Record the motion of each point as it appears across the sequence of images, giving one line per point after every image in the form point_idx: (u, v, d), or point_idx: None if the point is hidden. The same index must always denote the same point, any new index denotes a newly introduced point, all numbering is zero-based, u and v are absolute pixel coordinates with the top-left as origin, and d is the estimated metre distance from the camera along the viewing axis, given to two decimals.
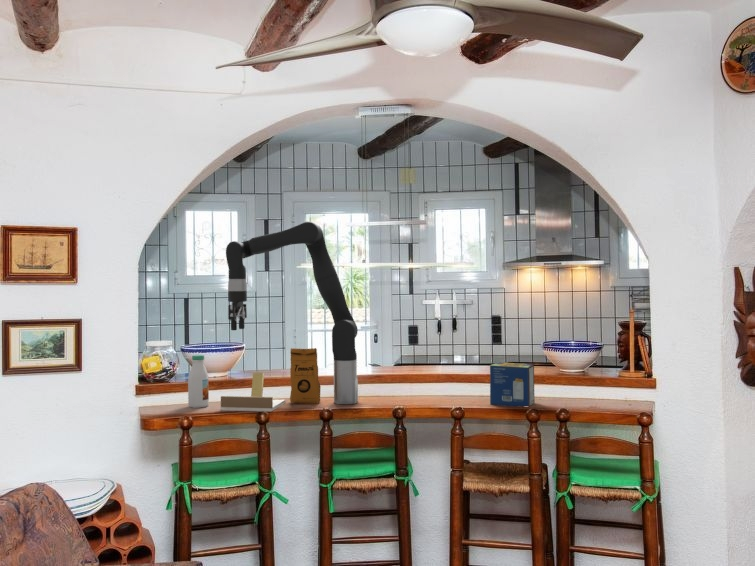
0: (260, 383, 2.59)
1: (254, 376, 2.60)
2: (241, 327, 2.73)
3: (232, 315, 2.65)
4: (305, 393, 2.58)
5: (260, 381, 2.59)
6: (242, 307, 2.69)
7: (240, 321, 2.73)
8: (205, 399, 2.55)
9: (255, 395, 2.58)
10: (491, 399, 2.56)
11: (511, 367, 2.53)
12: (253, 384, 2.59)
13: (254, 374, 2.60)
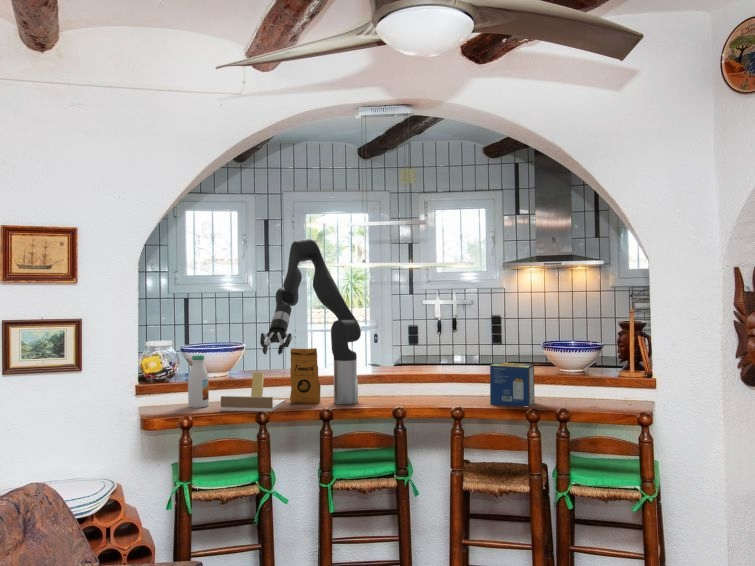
0: (260, 383, 2.59)
1: (254, 376, 2.60)
2: None
3: None
4: (305, 393, 2.58)
5: (260, 381, 2.59)
6: (277, 333, 2.84)
7: None
8: (205, 399, 2.55)
9: (255, 395, 2.58)
10: (491, 399, 2.56)
11: (511, 367, 2.53)
12: (253, 384, 2.59)
13: (254, 374, 2.60)
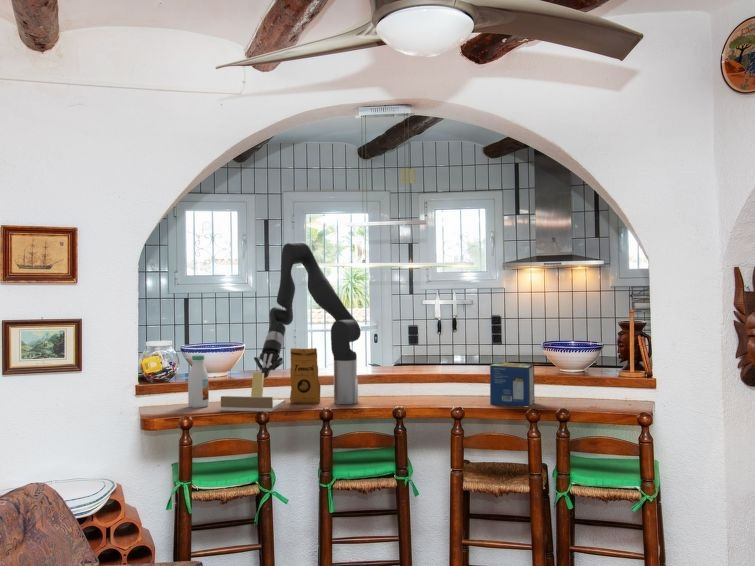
0: (260, 383, 2.59)
1: (254, 376, 2.60)
2: None
3: None
4: (305, 393, 2.58)
5: (260, 381, 2.59)
6: (270, 354, 2.74)
7: None
8: (205, 399, 2.55)
9: (255, 395, 2.58)
10: (491, 399, 2.56)
11: (511, 367, 2.53)
12: (253, 384, 2.59)
13: (254, 374, 2.60)
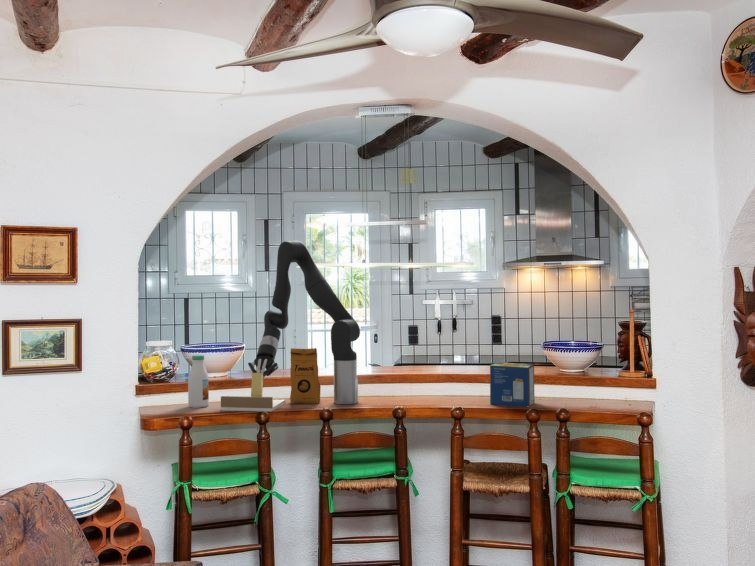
0: (259, 383, 2.58)
1: (253, 376, 2.59)
2: None
3: None
4: (305, 393, 2.58)
5: (259, 381, 2.58)
6: (265, 359, 2.67)
7: None
8: (205, 399, 2.55)
9: (255, 395, 2.58)
10: (491, 399, 2.56)
11: (511, 367, 2.53)
12: (252, 384, 2.59)
13: (253, 374, 2.59)
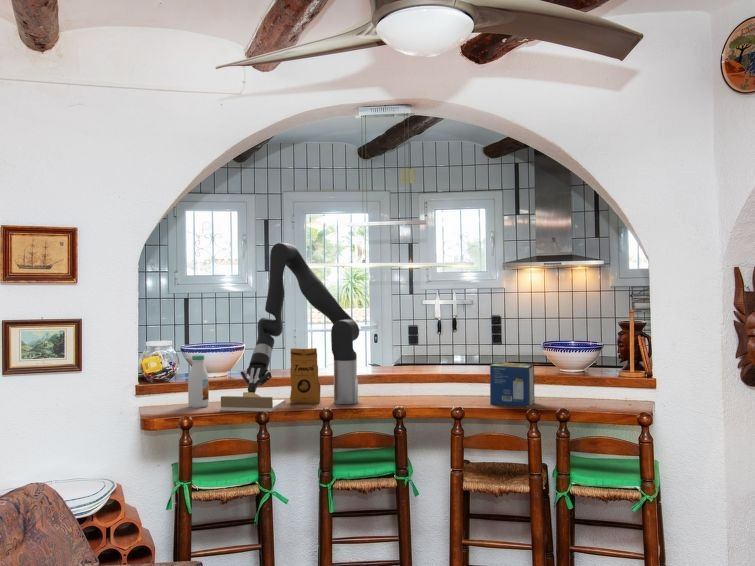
0: None
1: None
2: None
3: None
4: (305, 393, 2.58)
5: None
6: (258, 368, 2.58)
7: None
8: (205, 399, 2.55)
9: None
10: (491, 399, 2.56)
11: (511, 367, 2.53)
12: None
13: None
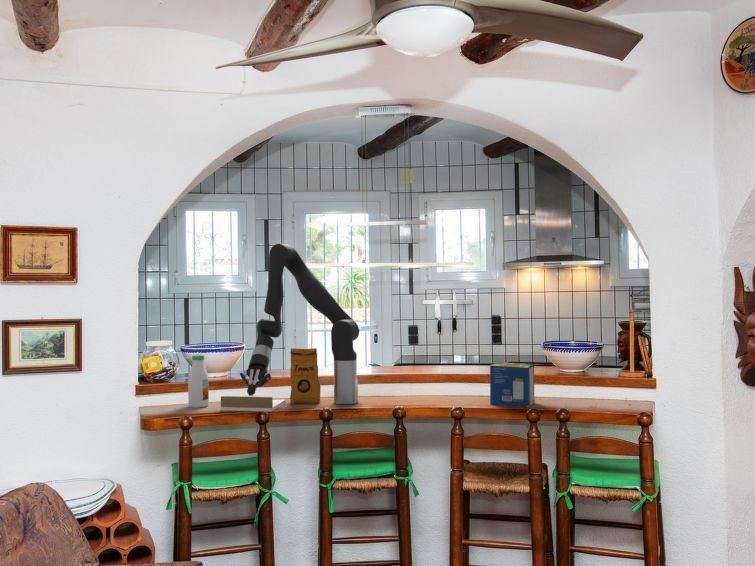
0: None
1: None
2: None
3: None
4: (305, 393, 2.58)
5: None
6: (257, 369, 2.57)
7: None
8: (205, 399, 2.55)
9: None
10: (491, 399, 2.56)
11: (511, 367, 2.53)
12: None
13: None
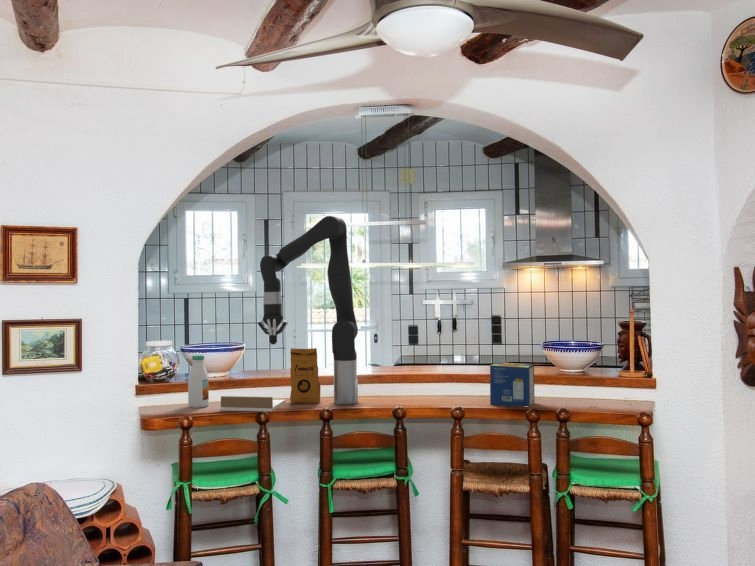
0: None
1: None
2: None
3: None
4: (305, 393, 2.58)
5: None
6: (273, 319, 2.71)
7: None
8: (205, 399, 2.55)
9: None
10: (491, 399, 2.56)
11: (511, 367, 2.53)
12: None
13: None
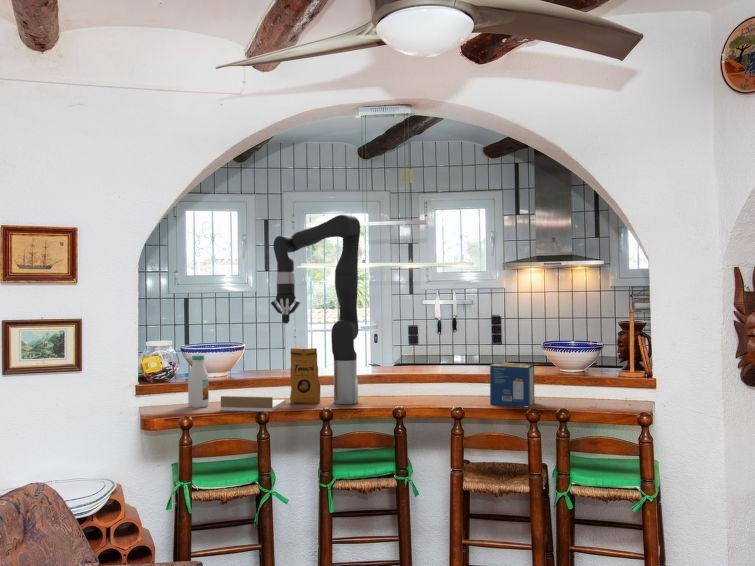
0: None
1: None
2: None
3: None
4: (305, 393, 2.58)
5: None
6: (286, 298, 2.76)
7: None
8: (205, 399, 2.55)
9: None
10: (491, 399, 2.56)
11: (511, 367, 2.53)
12: None
13: None
